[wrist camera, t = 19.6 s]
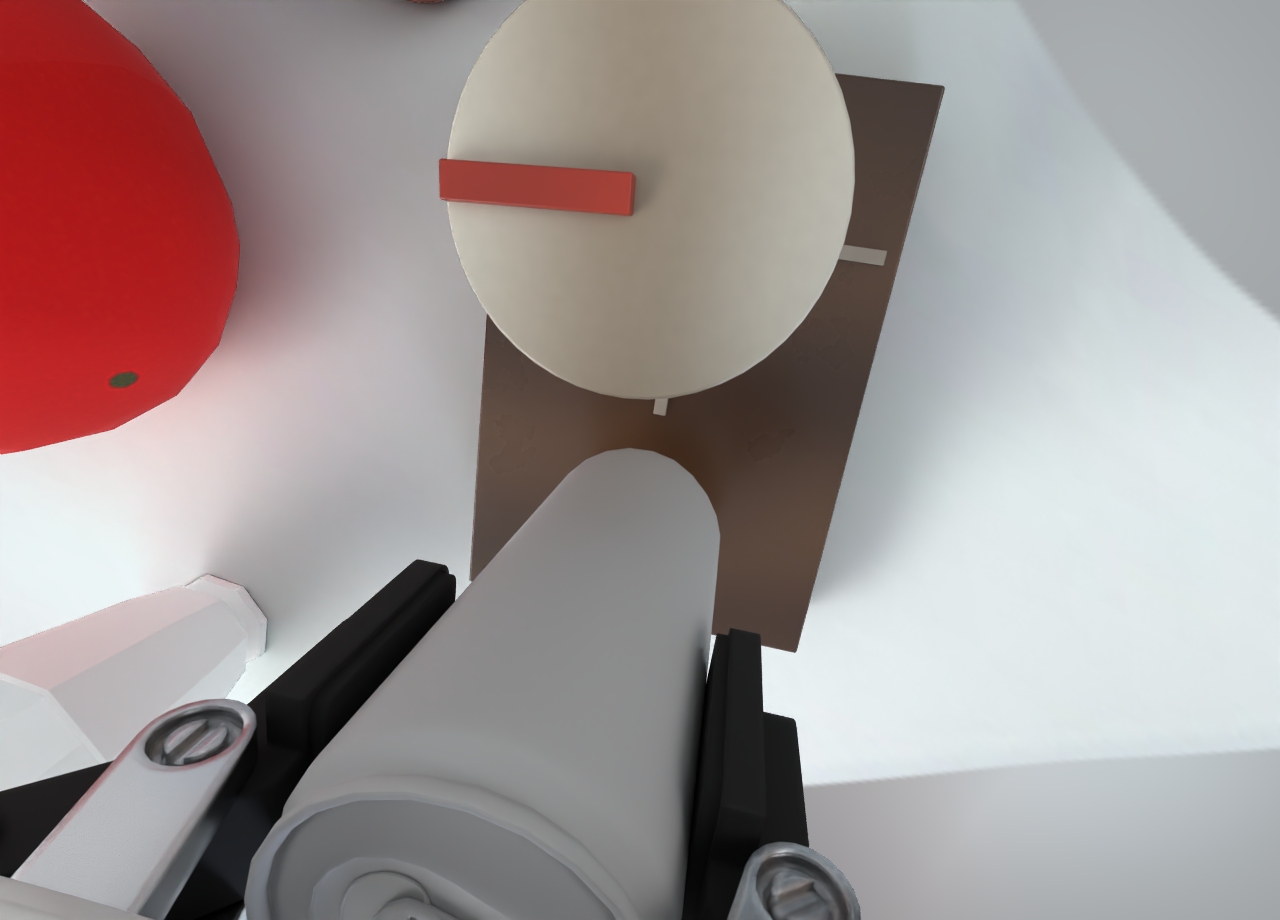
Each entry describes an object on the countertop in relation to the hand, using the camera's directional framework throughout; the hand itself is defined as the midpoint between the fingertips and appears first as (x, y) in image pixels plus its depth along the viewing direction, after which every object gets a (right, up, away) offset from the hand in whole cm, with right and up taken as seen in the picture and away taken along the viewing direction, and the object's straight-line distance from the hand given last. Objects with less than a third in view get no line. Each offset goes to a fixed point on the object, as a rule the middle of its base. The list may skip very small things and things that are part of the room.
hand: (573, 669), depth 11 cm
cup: (-18, -3, +16) cm, 24 cm away
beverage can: (+1, +2, +7) cm, 7 cm away
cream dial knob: (+3, +10, +5) cm, 11 cm away
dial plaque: (+2, +7, +9) cm, 11 cm away
